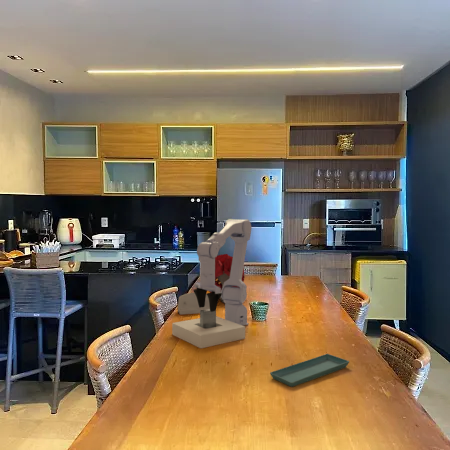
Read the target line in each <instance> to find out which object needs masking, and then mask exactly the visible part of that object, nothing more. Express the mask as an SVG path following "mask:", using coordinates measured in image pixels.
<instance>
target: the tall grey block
mask: <svg viewBox="0 0 450 450" xmlns="http://www.w3.org/2000/svg"><path fill="white" fill-rule="evenodd" d="M216 316H217V310H216V311H213V312H211V311H210V309H207V310H201V311H200V313H199V318H200V327H202V328H204V329H208V328H213V327H216Z"/></svg>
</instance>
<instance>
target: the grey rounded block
mask: <svg viewBox="0 0 450 450" xmlns="http://www.w3.org/2000/svg"><path fill="white" fill-rule="evenodd" d="M177 299H178V300H177V302H178V303H177V313H179V315H194V314H200V311H201V310H207V309H210V305H209V299H208V296H207V293H206V298H205V306H204V307H201V308H200V307H199V305H198V301H197V297H196V295H195V293H194V292H189V293H187V292H186V293H185V294H183V295H180V296H178V298H177Z"/></svg>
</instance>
